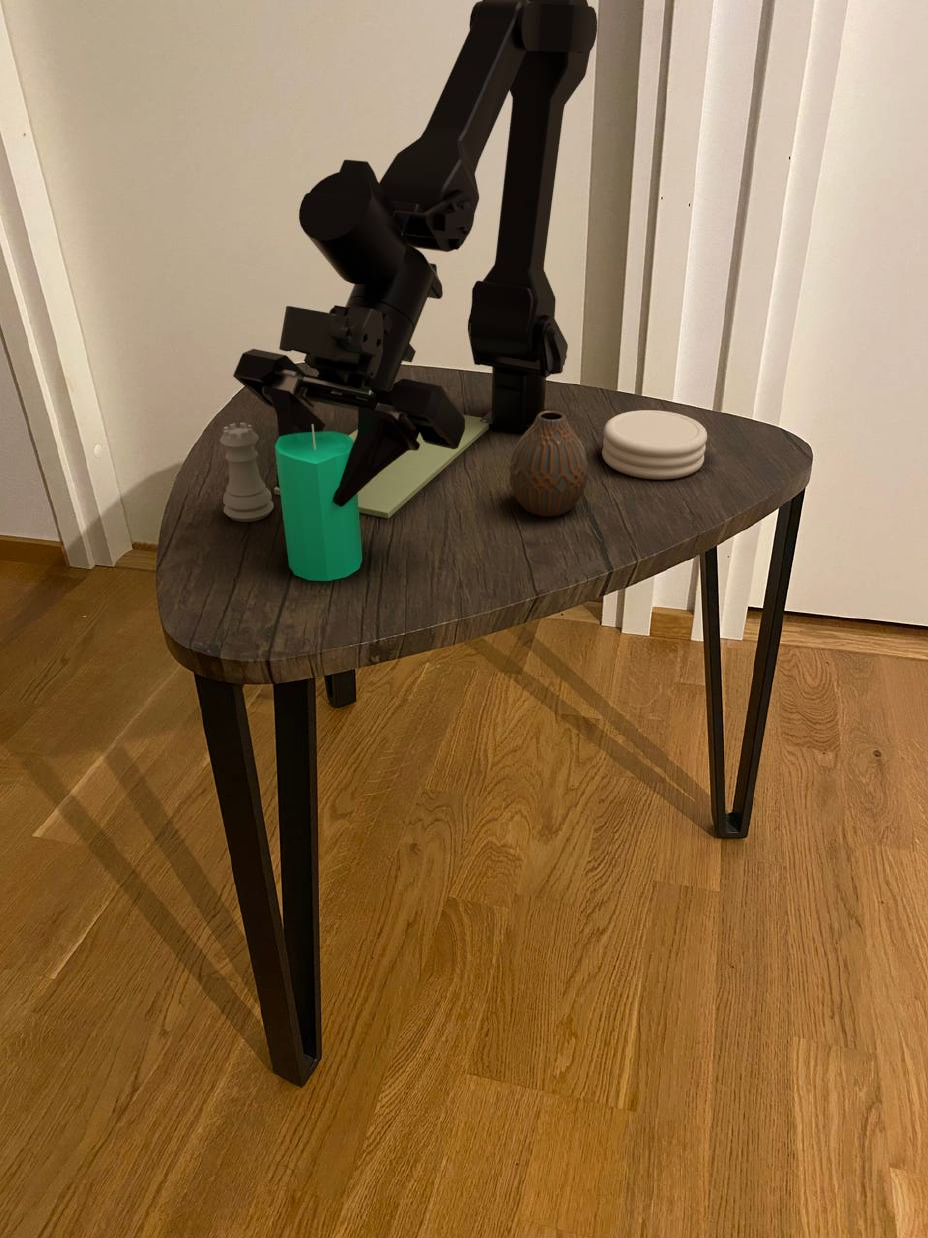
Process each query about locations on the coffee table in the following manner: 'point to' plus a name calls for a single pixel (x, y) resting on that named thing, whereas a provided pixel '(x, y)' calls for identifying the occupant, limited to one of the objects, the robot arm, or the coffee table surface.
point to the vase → (548, 466)
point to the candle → (317, 505)
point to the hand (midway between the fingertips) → (308, 496)
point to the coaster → (654, 444)
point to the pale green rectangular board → (411, 472)
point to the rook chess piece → (244, 476)
